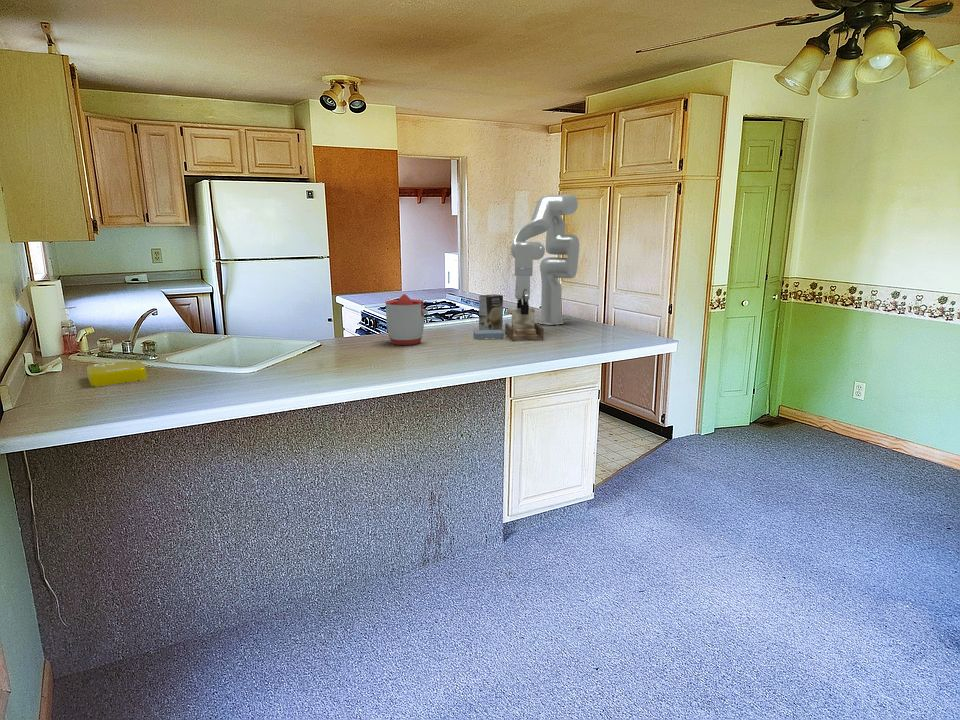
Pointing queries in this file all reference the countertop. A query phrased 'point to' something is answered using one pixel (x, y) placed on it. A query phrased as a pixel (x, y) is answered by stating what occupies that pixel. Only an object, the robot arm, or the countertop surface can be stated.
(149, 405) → the countertop surface
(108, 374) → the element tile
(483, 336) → the slate board
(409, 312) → the citrus juicer
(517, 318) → the tall cream block
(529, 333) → the upper oak offcut
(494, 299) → the coffee box
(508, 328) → the walnut rack
